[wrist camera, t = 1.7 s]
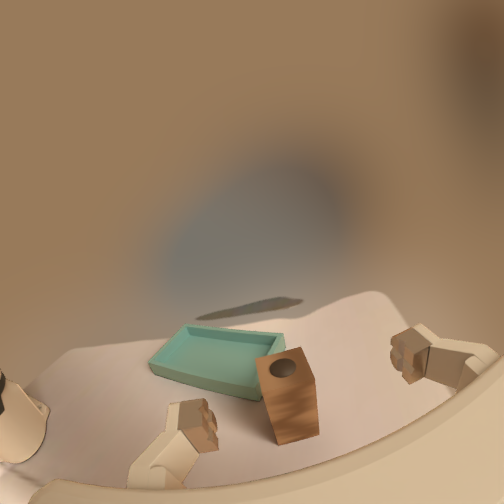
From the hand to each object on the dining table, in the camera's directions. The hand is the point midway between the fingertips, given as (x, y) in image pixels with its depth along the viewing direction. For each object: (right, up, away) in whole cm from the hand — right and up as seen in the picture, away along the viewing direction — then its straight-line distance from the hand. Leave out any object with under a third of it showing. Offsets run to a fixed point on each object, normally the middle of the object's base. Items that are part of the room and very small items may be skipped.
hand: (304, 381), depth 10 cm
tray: (-8, -13, +33) cm, 37 cm away
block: (+3, -16, +19) cm, 25 cm away
